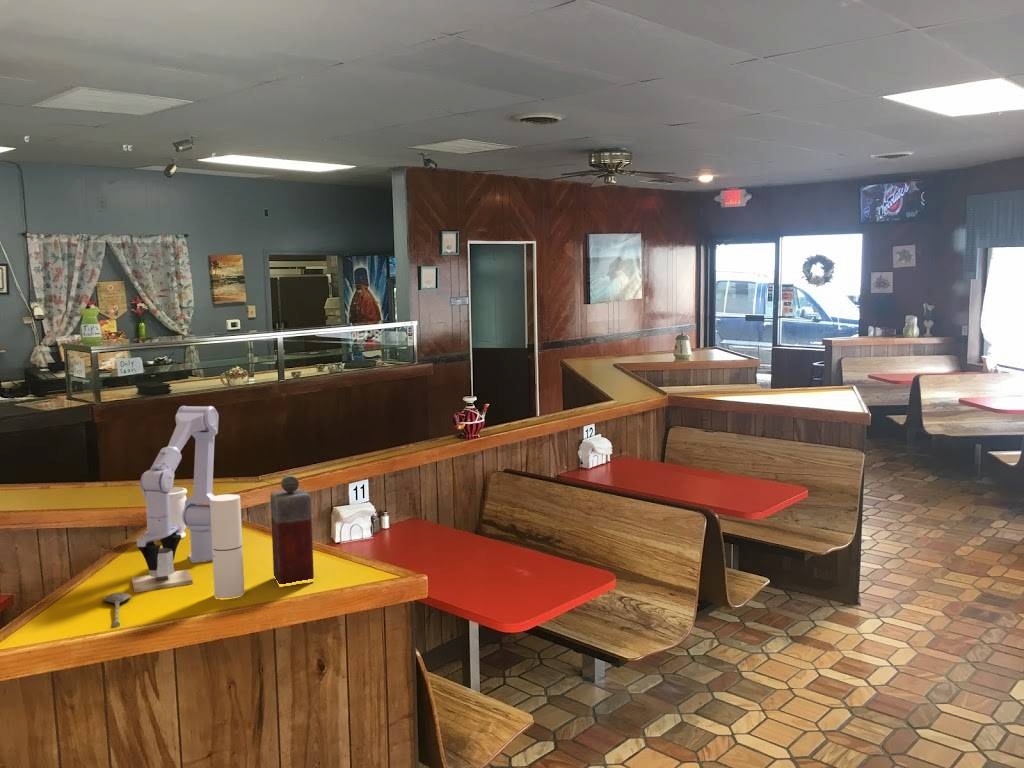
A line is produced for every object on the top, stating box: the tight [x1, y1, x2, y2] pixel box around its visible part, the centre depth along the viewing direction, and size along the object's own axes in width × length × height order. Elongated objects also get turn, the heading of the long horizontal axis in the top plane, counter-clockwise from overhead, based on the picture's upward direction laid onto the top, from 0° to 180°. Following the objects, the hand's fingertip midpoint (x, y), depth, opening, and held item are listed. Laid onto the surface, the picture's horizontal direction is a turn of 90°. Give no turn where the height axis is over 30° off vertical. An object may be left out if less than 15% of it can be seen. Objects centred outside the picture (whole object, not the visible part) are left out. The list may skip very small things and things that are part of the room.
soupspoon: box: [102, 592, 132, 628], centre depth 207 cm, size 22×3×7 cm
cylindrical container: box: [210, 493, 245, 598], centre depth 215 cm, size 7×7×25 cm
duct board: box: [131, 569, 194, 593], centre depth 227 cm, size 14×10×5 cm
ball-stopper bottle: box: [270, 474, 315, 584], centre depth 227 cm, size 9×11×28 cm
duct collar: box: [148, 547, 175, 577], centre depth 226 cm, size 6×6×6 cm
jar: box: [169, 486, 188, 540], centre depth 269 cm, size 11×10×15 cm
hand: (161, 566), depth 227 cm, fingers closed on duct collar, 6 cm apart
